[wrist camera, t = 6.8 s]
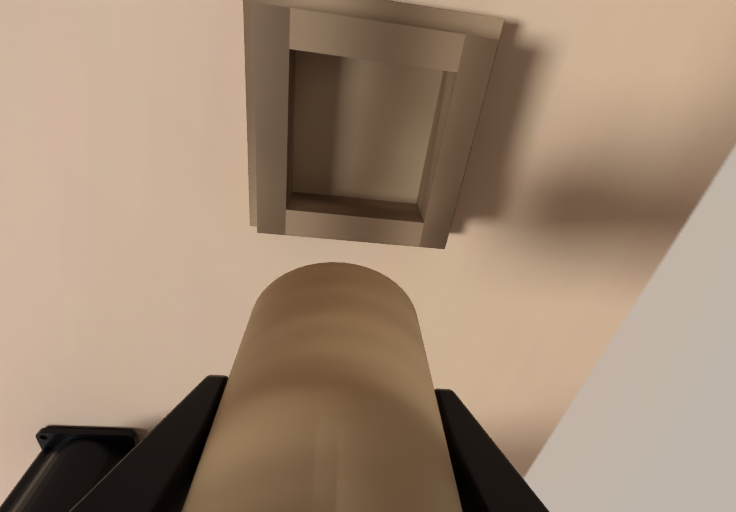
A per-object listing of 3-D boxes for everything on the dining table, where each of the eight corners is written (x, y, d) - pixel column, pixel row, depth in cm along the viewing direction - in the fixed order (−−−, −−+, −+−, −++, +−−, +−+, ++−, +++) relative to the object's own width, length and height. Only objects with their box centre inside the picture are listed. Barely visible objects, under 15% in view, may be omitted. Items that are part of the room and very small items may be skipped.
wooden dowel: (252, 384, 11) (90, 959, 4) (248, 253, 9) (-113, 1032, 2) (401, 393, 12) (476, 925, 5) (434, 271, 9) (673, 951, 2)
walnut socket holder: (255, 215, 20) (239, 247, 17) (249, -19, 15) (225, -33, 12) (441, 233, 21) (457, 265, 18) (493, 20, 16) (528, 16, 13)
